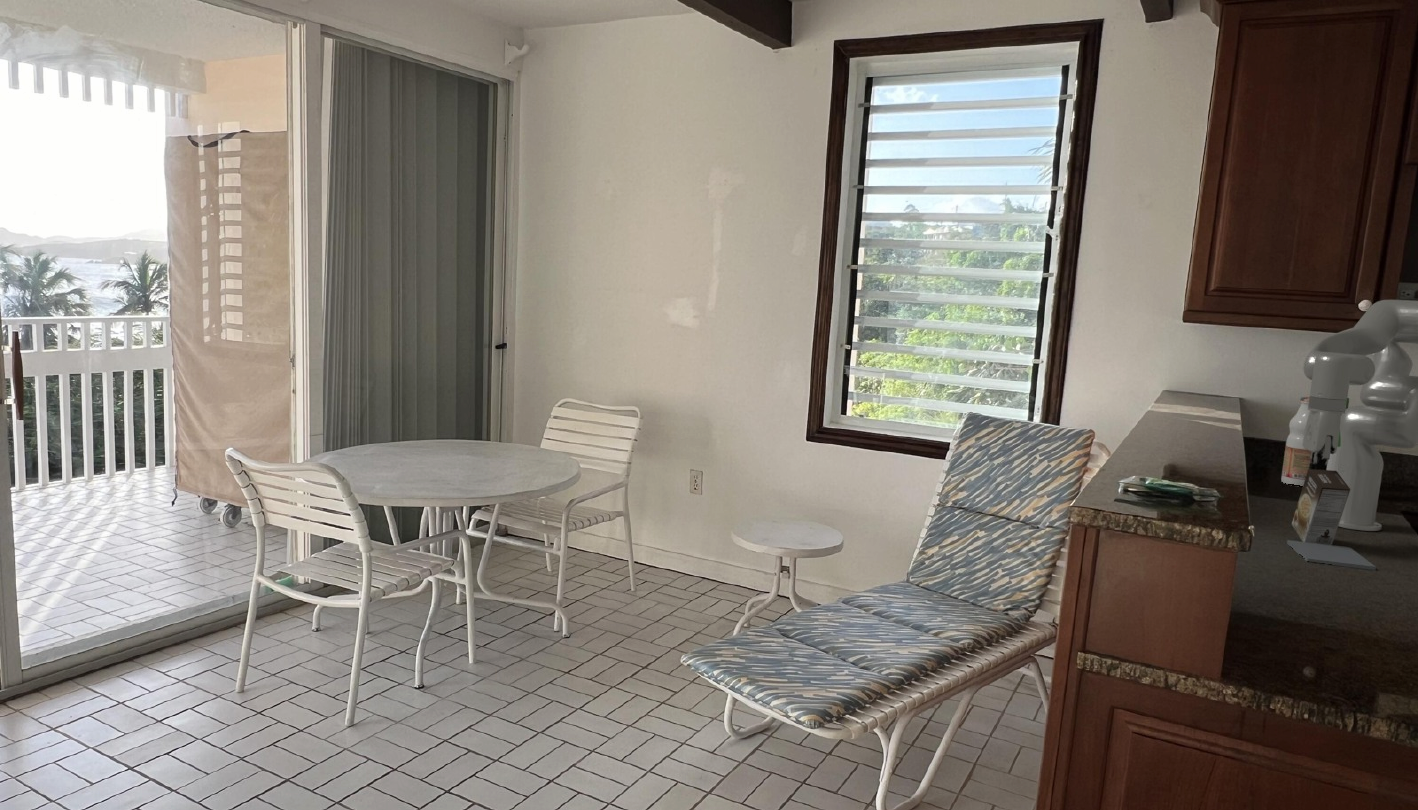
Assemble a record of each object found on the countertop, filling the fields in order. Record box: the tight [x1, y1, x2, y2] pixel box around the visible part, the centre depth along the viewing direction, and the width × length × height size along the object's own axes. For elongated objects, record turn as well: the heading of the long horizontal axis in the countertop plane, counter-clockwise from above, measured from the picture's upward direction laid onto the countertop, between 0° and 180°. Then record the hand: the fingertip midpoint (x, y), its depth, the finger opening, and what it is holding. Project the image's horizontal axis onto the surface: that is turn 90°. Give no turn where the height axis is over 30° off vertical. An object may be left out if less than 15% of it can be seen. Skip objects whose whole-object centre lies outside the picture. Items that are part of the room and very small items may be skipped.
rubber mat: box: [1286, 539, 1377, 571], centre depth 208 cm, size 16×13×1 cm
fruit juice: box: [1280, 396, 1311, 486], centre depth 289 cm, size 9×9×28 cm
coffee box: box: [1291, 469, 1351, 545], centre depth 218 cm, size 9×6×16 cm
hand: (1316, 479), depth 221 cm, fingers closed
